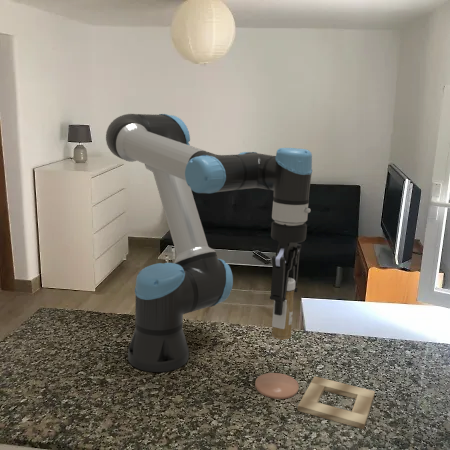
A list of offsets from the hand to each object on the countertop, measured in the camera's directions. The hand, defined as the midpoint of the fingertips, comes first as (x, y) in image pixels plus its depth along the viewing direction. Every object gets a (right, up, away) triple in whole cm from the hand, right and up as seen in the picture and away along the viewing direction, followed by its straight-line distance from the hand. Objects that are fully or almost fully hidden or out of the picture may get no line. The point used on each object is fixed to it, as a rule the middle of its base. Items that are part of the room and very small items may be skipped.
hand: (281, 322), depth 117 cm
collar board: (+12, -17, -2) cm, 21 cm away
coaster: (-1, -16, +4) cm, 16 cm away
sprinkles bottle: (0, -3, +1) cm, 3 cm away
